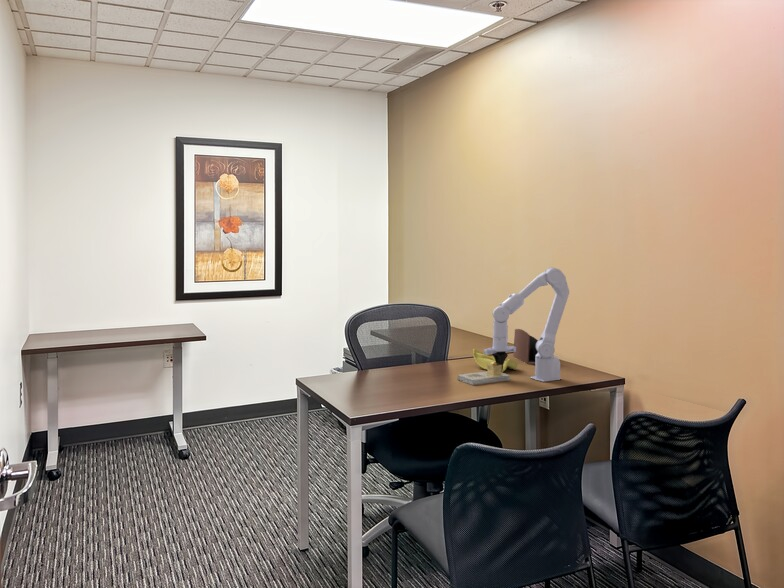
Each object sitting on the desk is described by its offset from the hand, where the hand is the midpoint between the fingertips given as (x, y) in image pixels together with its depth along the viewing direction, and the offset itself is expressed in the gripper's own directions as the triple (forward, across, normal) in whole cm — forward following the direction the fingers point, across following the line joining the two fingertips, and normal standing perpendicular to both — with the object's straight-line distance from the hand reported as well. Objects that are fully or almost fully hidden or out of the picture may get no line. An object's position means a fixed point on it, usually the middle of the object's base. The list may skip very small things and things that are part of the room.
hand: (499, 370), depth 247 cm
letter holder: (+3, -36, -24) cm, 44 cm away
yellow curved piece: (+3, -10, -17) cm, 20 cm away
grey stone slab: (+3, +8, 0) cm, 8 cm away
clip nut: (+1, +2, 0) cm, 3 cm away
